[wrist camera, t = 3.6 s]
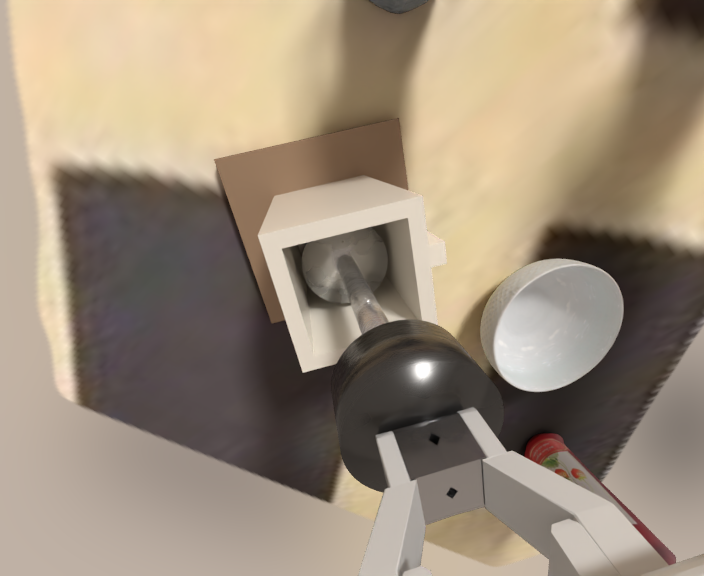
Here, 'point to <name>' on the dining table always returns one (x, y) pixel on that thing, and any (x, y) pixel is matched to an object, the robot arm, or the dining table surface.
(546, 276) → the cereal bowl
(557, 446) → the liquor
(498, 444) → the robot arm
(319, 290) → the dark-topped thin piece
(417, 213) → the hollow square stand
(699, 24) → the dining table surface
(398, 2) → the moka pot
